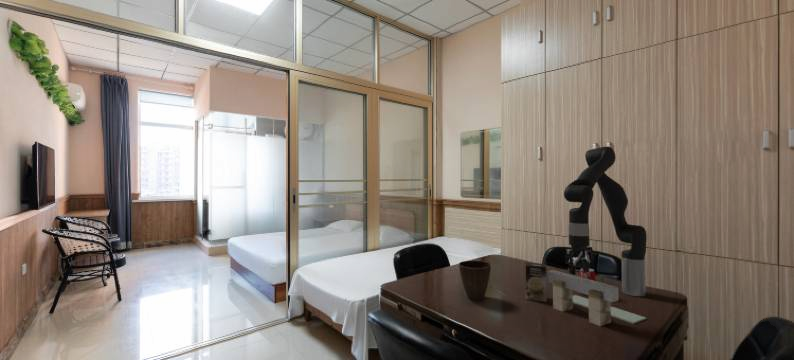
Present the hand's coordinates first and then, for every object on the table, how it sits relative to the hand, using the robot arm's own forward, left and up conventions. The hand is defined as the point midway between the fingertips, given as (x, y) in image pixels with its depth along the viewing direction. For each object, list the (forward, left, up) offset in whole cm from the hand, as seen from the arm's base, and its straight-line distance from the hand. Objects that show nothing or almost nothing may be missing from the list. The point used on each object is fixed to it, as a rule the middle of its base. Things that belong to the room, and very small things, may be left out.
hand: (579, 273), depth 136 cm
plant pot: (+24, -37, -17) cm, 47 cm away
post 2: (0, +8, -17) cm, 19 cm away
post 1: (0, -8, -17) cm, 19 cm away
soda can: (-26, -14, -17) cm, 34 cm away
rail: (0, 0, -7) cm, 7 cm away
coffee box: (0, -22, -17) cm, 28 cm away
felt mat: (-14, 0, -17) cm, 22 cm away
